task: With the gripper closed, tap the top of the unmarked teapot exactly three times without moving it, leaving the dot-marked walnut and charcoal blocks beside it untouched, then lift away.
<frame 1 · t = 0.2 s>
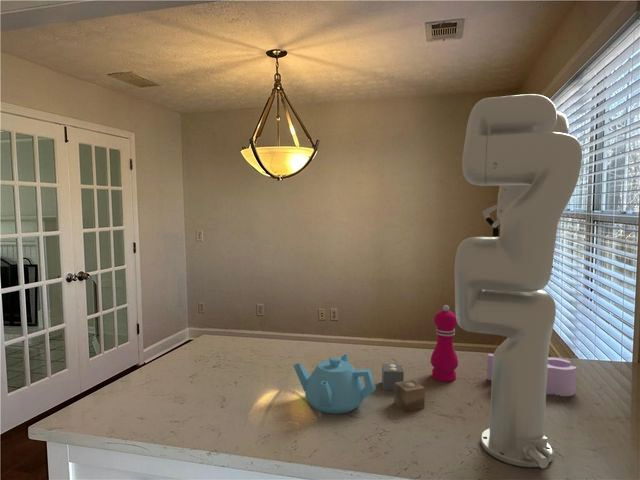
hand: (517, 243, 110), 37 cm above the counter, tool pointing down, fingers open, 9 cm apart
pepper mill: (443, 377, 118), on the counter
clip: (530, 388, 112), on the counter
charcoal block: (392, 386, 112), on the counter
teapot: (333, 403, 103), on the counter
walnut block: (409, 405, 102), on the counter
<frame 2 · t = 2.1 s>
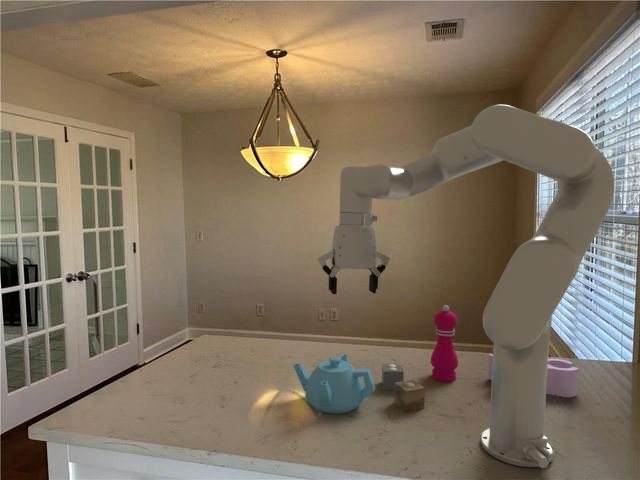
hand: (353, 292, 102), 26 cm above the counter, tool pointing down, fingers open, 9 cm apart
nothing on the counter moved.
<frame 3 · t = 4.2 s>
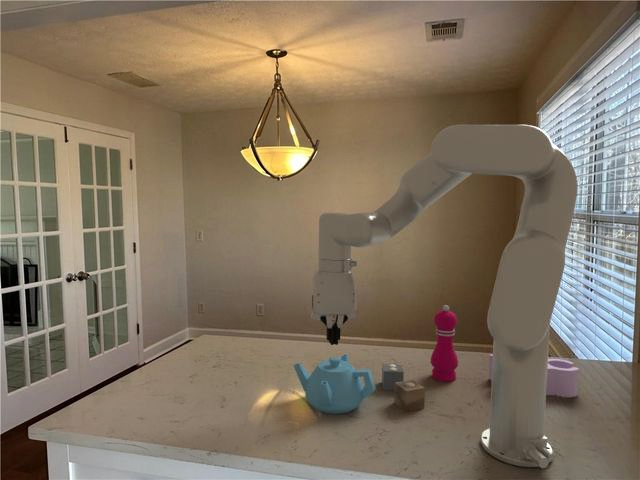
hand: (333, 342, 102), 14 cm above the counter, tool pointing down, fingers closed
nothing on the counter moved.
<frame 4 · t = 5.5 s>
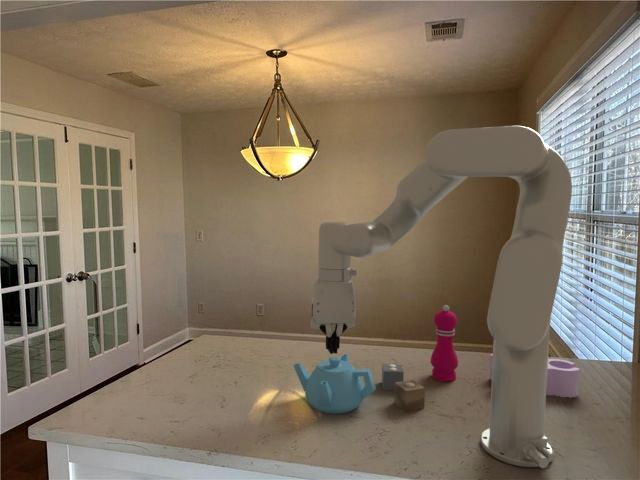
hand: (332, 351, 102), 12 cm above the counter, tool pointing down, fingers closed
nothing on the counter moved.
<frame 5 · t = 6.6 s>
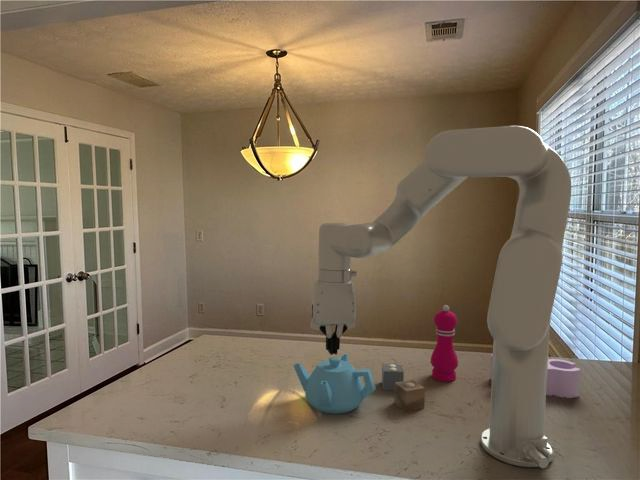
hand: (332, 352, 102), 12 cm above the counter, tool pointing down, fingers closed
nothing on the counter moved.
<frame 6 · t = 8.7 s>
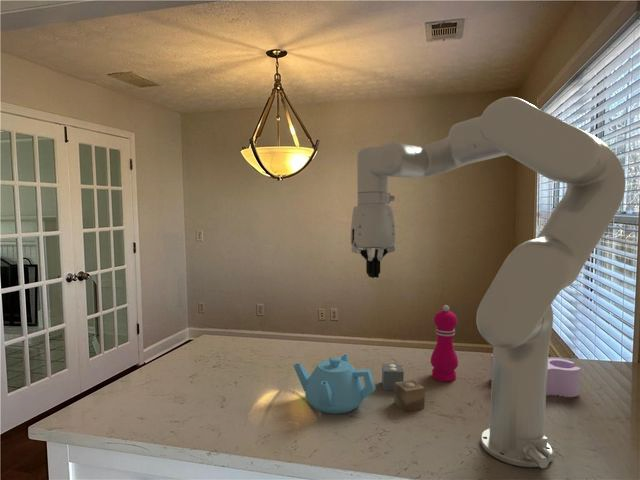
hand: (373, 276, 104), 30 cm above the counter, tool pointing down, fingers closed
nothing on the counter moved.
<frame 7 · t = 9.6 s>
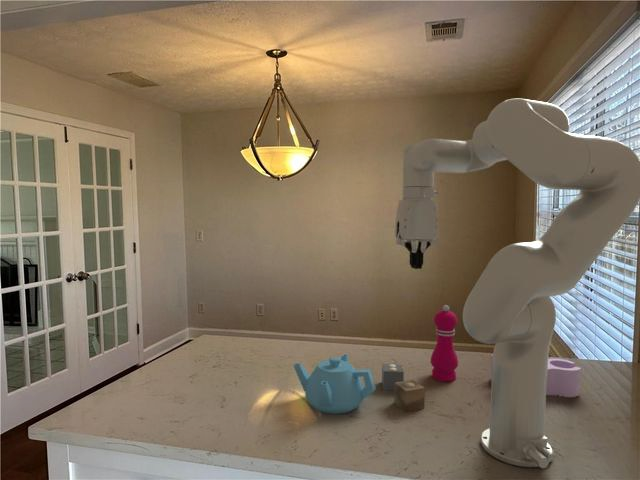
hand: (416, 267, 109), 31 cm above the counter, tool pointing down, fingers closed
nothing on the counter moved.
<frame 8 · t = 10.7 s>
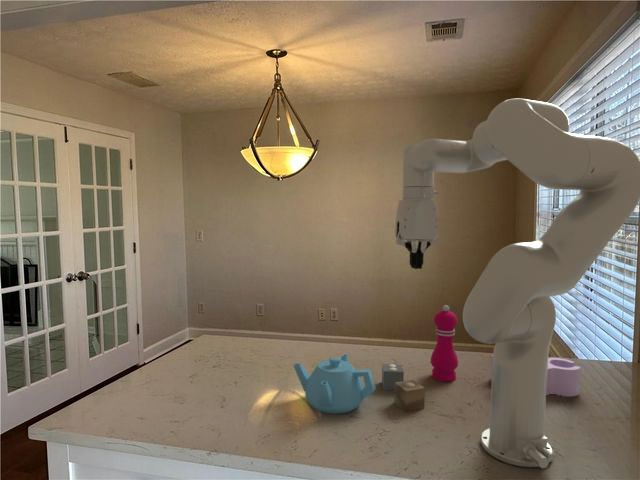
hand: (416, 267, 109), 31 cm above the counter, tool pointing down, fingers closed
nothing on the counter moved.
at the end: teapot moved 0.3 cm from its start; teapot tilted 0°; charcoal block moved 0.1 cm from its start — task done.
